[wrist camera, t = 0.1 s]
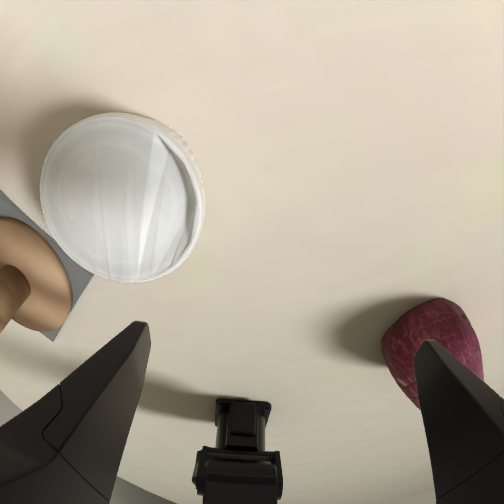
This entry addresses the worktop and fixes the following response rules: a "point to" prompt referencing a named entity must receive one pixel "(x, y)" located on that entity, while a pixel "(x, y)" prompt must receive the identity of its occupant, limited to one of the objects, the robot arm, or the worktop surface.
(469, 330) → the vegetable
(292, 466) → the worktop surface
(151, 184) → the ramekin
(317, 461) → the worktop surface
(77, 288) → the rubber mat
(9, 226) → the walnut lid
